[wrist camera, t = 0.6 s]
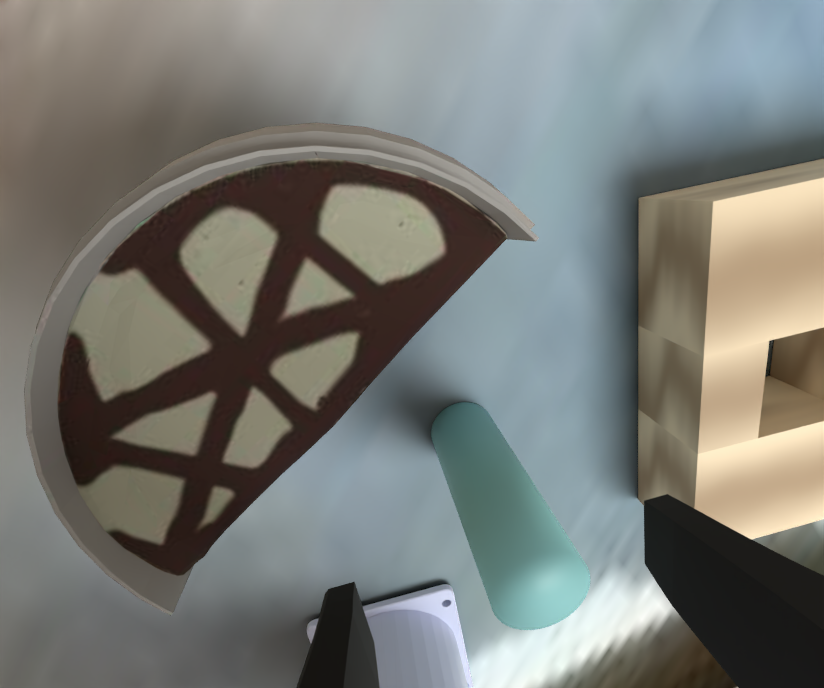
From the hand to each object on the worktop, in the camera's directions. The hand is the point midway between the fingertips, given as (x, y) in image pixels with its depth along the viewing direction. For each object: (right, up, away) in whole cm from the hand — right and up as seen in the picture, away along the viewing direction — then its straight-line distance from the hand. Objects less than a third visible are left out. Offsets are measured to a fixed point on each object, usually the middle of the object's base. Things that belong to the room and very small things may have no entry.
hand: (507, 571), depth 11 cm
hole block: (+14, +5, +11) cm, 18 cm away
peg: (0, +1, +11) cm, 11 cm away
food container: (-7, +9, +7) cm, 13 cm away
